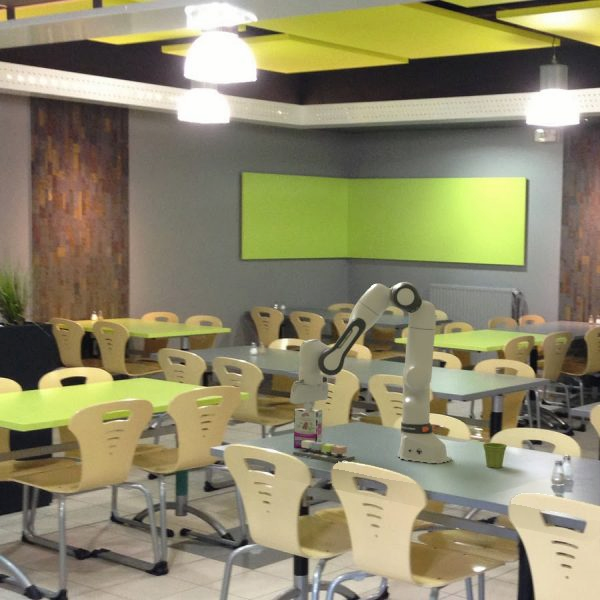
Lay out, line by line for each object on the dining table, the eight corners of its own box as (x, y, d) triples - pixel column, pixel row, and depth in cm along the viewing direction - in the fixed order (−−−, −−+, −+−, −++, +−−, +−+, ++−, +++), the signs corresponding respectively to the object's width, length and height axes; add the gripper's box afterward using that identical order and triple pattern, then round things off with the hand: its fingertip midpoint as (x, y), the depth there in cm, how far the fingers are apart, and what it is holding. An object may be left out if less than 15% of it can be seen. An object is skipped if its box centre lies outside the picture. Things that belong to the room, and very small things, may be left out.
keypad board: (354, 459, 449) (354, 455, 449) (337, 462, 441) (337, 459, 440) (310, 451, 464) (310, 447, 464) (292, 454, 456) (293, 450, 456)
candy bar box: (322, 448, 471) (323, 409, 470) (316, 450, 466) (317, 411, 465) (298, 445, 476) (299, 407, 475) (293, 447, 471) (293, 408, 470)
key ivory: (315, 449, 458) (315, 441, 458) (308, 450, 455) (308, 442, 455) (307, 448, 460) (307, 439, 460) (301, 449, 457) (301, 441, 457)
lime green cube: (335, 453, 451) (336, 444, 450) (329, 454, 448) (329, 446, 447) (328, 452, 453) (328, 443, 453) (321, 453, 450) (322, 444, 450)
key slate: (325, 451, 454) (325, 443, 454) (319, 452, 451) (319, 444, 451) (317, 450, 457) (318, 441, 457) (311, 451, 454) (311, 442, 454)
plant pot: (477, 464, 442) (478, 443, 442) (498, 463, 446) (499, 442, 445) (489, 469, 434) (490, 447, 433) (510, 468, 437) (511, 446, 436)
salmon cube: (346, 455, 447) (346, 446, 447) (340, 456, 444) (340, 447, 444) (338, 453, 450) (339, 445, 449) (332, 455, 447) (332, 446, 446)
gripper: (298, 381, 446) (298, 416, 447) (331, 377, 462) (330, 410, 462) (286, 380, 450) (286, 414, 451) (319, 376, 466) (318, 409, 466)
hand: (308, 412), depth 457 cm, fingers closed
